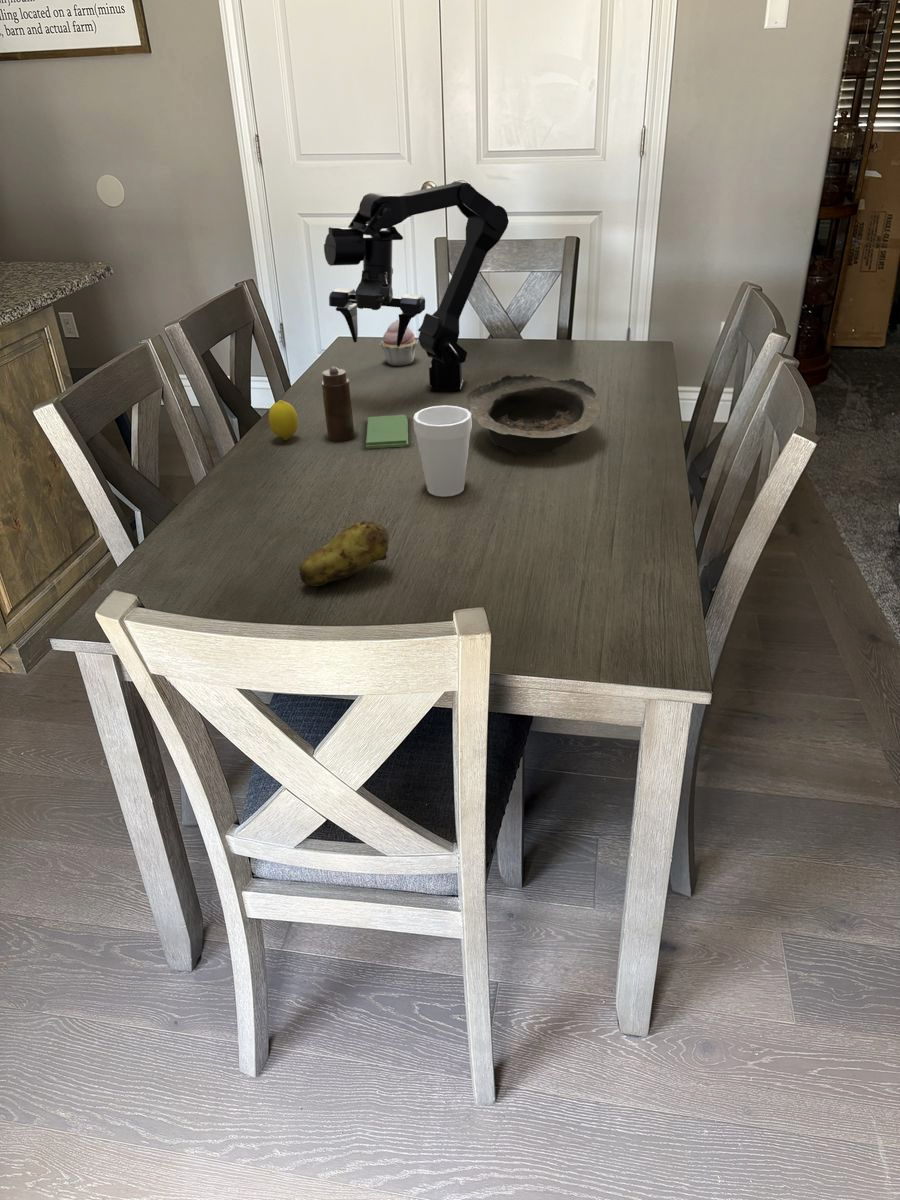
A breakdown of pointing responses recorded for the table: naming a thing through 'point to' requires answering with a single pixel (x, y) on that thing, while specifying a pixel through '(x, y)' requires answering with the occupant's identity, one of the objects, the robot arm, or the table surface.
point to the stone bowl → (534, 412)
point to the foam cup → (443, 447)
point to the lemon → (283, 419)
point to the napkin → (387, 432)
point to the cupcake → (404, 351)
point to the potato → (346, 553)
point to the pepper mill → (337, 405)
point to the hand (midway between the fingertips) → (377, 344)
